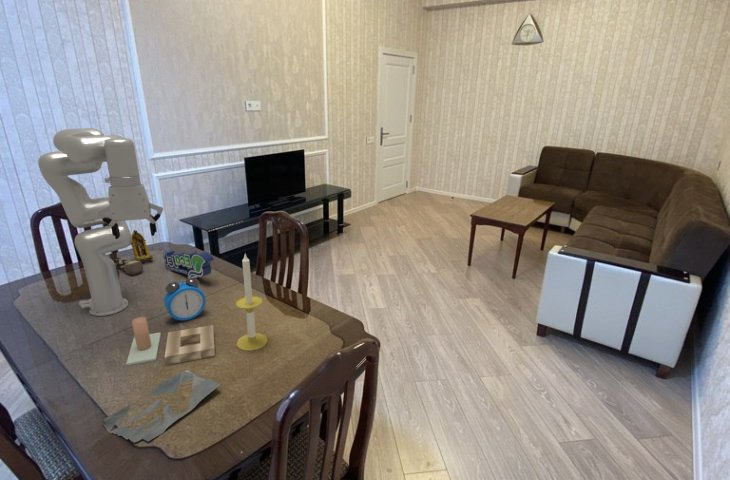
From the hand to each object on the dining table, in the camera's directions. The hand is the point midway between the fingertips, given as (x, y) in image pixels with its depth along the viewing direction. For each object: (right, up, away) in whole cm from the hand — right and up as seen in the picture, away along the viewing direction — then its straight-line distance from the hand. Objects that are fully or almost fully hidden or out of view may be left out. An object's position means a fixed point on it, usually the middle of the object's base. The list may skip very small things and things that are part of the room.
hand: (135, 236), depth 120 cm
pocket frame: (+14, -37, +7) cm, 40 cm away
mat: (0, -37, +6) cm, 37 cm away
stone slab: (+17, -46, -17) cm, 52 cm away
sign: (-9, -18, +57) cm, 60 cm away
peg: (0, -36, +5) cm, 36 cm away
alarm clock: (+5, -30, +25) cm, 39 cm away
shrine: (-38, -12, +71) cm, 82 cm away
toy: (-39, -16, +61) cm, 73 cm away
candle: (+33, -36, +11) cm, 50 cm away
